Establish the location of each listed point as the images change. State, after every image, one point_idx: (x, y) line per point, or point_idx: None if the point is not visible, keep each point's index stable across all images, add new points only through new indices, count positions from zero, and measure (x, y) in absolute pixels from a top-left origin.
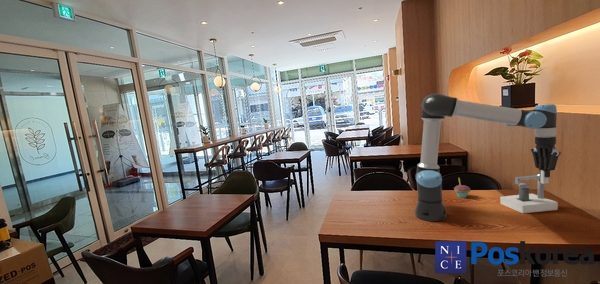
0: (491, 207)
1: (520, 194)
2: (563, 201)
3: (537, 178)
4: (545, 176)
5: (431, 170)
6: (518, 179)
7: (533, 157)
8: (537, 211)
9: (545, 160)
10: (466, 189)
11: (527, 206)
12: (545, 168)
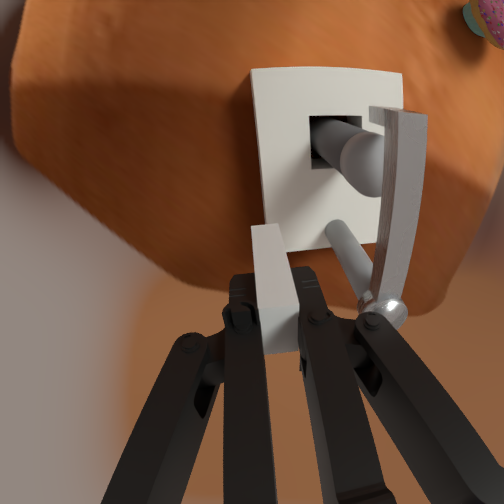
0: (343, 3)
1: (347, 125)
2: (333, 305)
3: (372, 275)
4: (249, 278)
5: None
6: (391, 115)
7: (466, 418)
8: (257, 145)
9: (238, 461)
10: (484, 9)
11: (254, 96)
12: (235, 344)
